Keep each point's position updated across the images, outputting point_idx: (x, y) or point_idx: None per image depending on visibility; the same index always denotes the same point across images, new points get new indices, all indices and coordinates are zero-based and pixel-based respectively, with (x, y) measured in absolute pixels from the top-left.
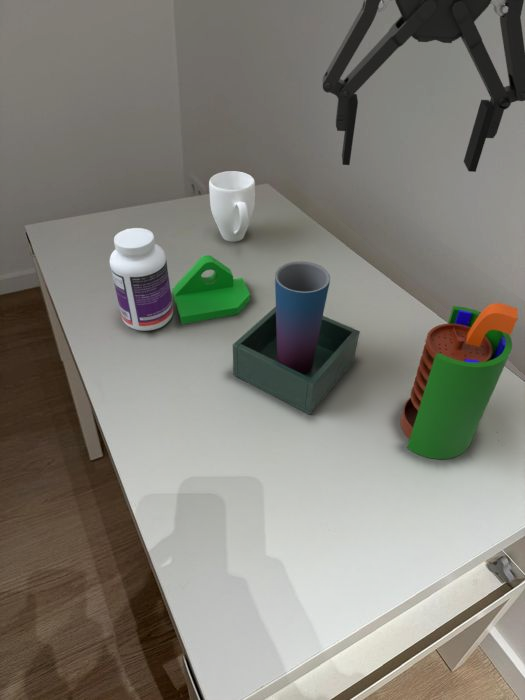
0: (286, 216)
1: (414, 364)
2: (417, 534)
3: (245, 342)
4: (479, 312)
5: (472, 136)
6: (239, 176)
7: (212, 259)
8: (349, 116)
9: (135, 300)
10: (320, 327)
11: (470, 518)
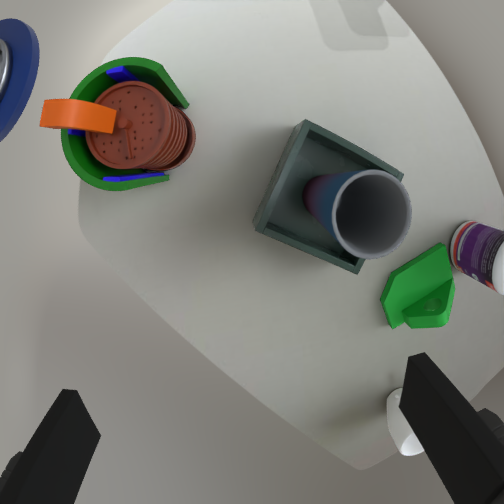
0: (341, 442)
1: (181, 232)
2: (184, 24)
3: None
4: (92, 184)
5: (74, 476)
6: (411, 451)
7: (438, 321)
8: (495, 438)
9: (493, 228)
10: (304, 241)
11: (138, 50)
